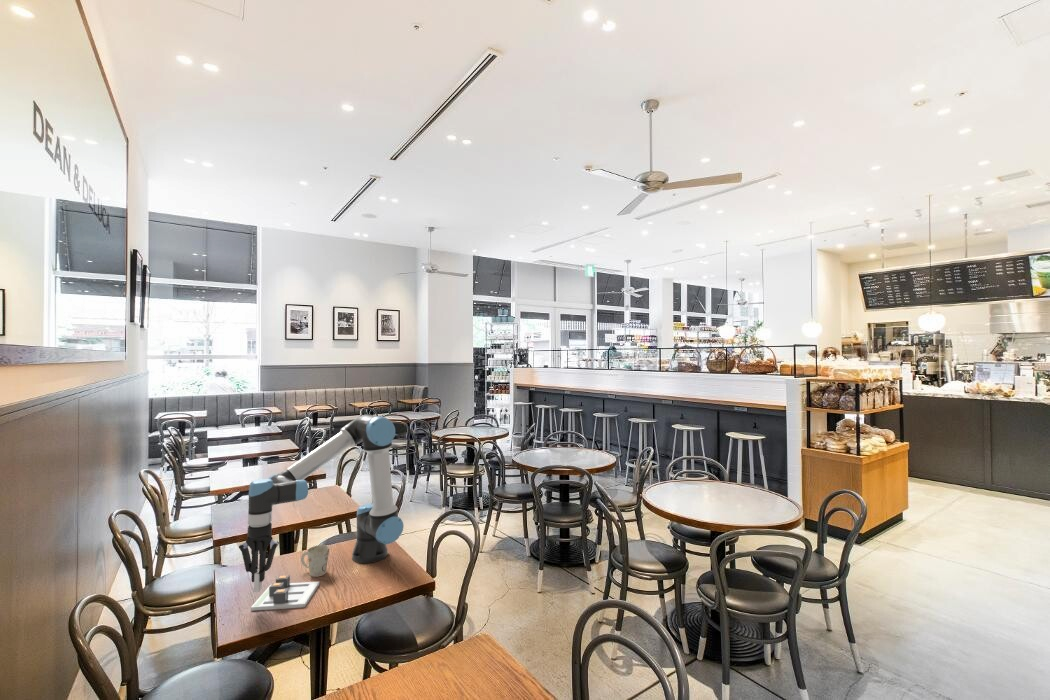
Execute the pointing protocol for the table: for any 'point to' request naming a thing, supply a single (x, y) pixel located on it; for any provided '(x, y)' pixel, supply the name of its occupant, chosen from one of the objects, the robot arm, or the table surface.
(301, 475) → the robot arm
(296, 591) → the panel
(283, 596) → the block
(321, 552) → the mug
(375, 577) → the table surface
